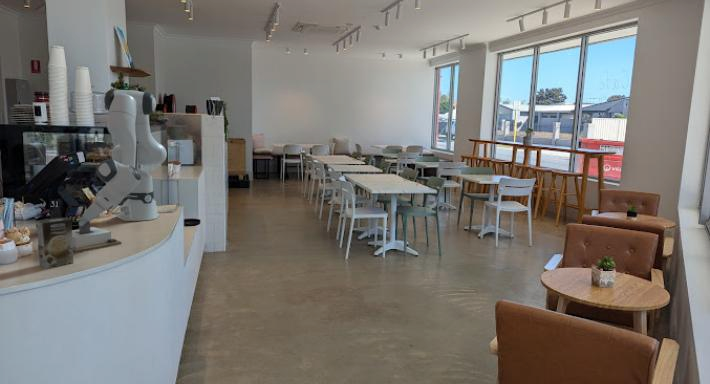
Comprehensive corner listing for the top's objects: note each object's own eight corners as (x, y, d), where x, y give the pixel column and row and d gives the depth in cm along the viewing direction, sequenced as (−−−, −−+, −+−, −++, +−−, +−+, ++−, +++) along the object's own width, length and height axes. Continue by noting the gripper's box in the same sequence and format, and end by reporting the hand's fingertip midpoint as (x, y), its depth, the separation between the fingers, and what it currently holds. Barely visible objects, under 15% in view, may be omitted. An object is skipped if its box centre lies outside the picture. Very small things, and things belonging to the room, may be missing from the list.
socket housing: (59, 242, 197) (58, 232, 196) (93, 236, 208) (93, 227, 208) (76, 247, 189) (75, 237, 188) (111, 241, 201) (110, 231, 200)
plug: (78, 241, 198) (76, 217, 196) (88, 239, 201) (86, 216, 199) (83, 243, 196) (81, 219, 194) (93, 241, 199) (91, 217, 197)
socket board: (49, 244, 198) (49, 239, 197) (93, 236, 212) (93, 231, 212) (76, 253, 185) (76, 248, 185) (121, 244, 200) (121, 239, 200)
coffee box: (45, 268, 166) (42, 223, 164) (39, 265, 170) (35, 220, 168) (74, 263, 173) (71, 219, 171) (67, 259, 177) (64, 216, 175)
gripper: (107, 190, 208) (83, 213, 206) (95, 197, 188) (68, 223, 187) (118, 200, 209) (95, 223, 208) (108, 208, 190) (82, 233, 189)
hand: (82, 223), depth 197 cm, fingers open, 5 cm apart
